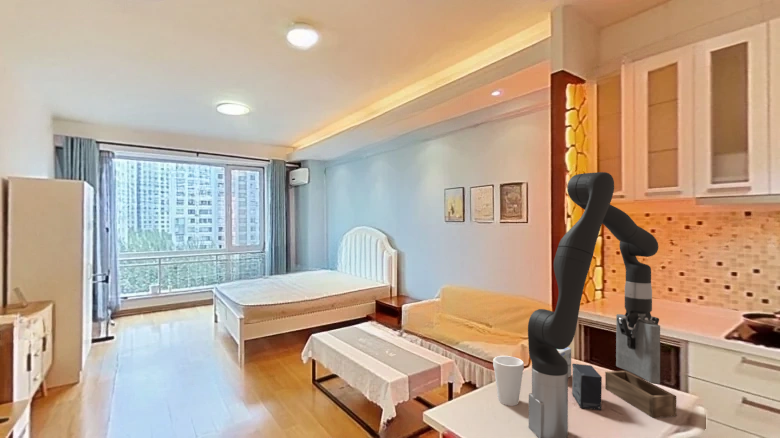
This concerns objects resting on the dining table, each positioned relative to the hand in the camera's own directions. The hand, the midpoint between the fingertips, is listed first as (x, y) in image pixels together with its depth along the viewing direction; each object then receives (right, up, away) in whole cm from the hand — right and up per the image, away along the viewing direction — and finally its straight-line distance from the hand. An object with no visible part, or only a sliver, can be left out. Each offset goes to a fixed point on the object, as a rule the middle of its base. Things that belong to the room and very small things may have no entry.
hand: (637, 348), depth 124 cm
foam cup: (-42, -17, 0) cm, 46 cm away
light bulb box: (-18, -18, +19) cm, 32 cm away
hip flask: (0, -8, 0) cm, 8 cm away
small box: (-17, -17, -1) cm, 24 cm away
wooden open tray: (0, -17, 0) cm, 17 cm away
